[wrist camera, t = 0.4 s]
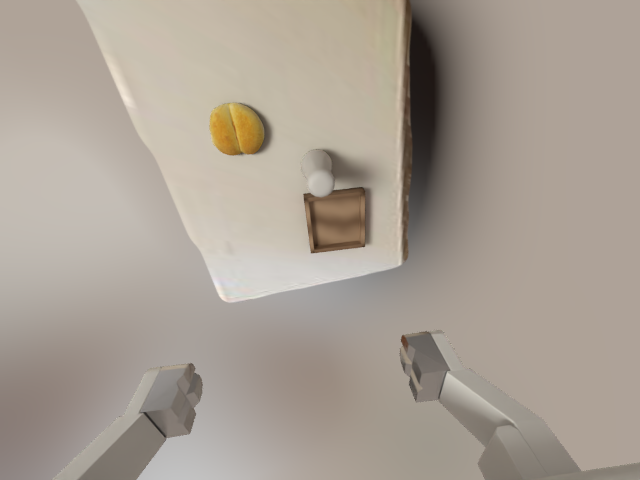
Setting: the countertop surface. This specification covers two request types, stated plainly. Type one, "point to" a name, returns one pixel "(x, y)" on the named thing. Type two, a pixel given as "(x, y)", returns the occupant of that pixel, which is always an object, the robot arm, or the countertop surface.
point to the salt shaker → (318, 172)
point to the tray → (336, 220)
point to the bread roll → (236, 129)
